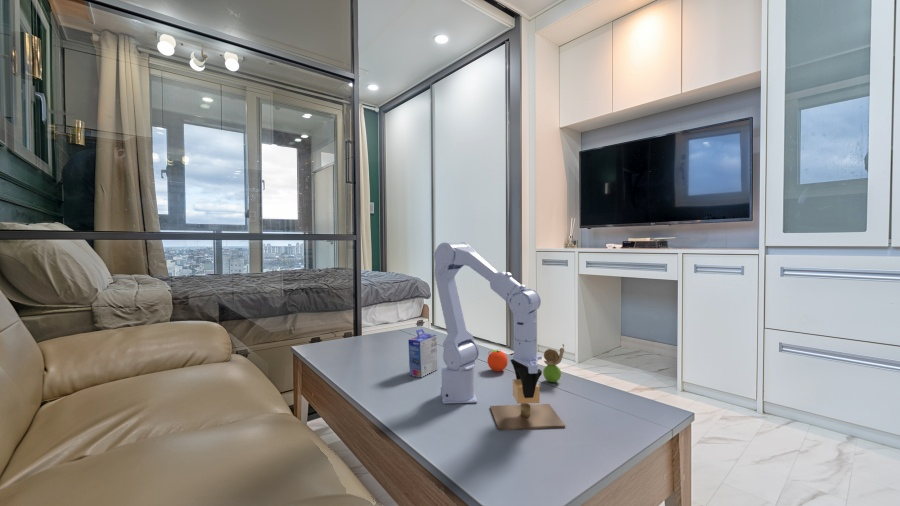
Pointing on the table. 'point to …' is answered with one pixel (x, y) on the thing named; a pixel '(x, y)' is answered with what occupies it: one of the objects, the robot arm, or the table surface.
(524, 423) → the post board
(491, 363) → the clementine
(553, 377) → the snail figurine
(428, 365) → the ink cartridge box
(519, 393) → the cardboard-colored cube
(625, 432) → the table surface
